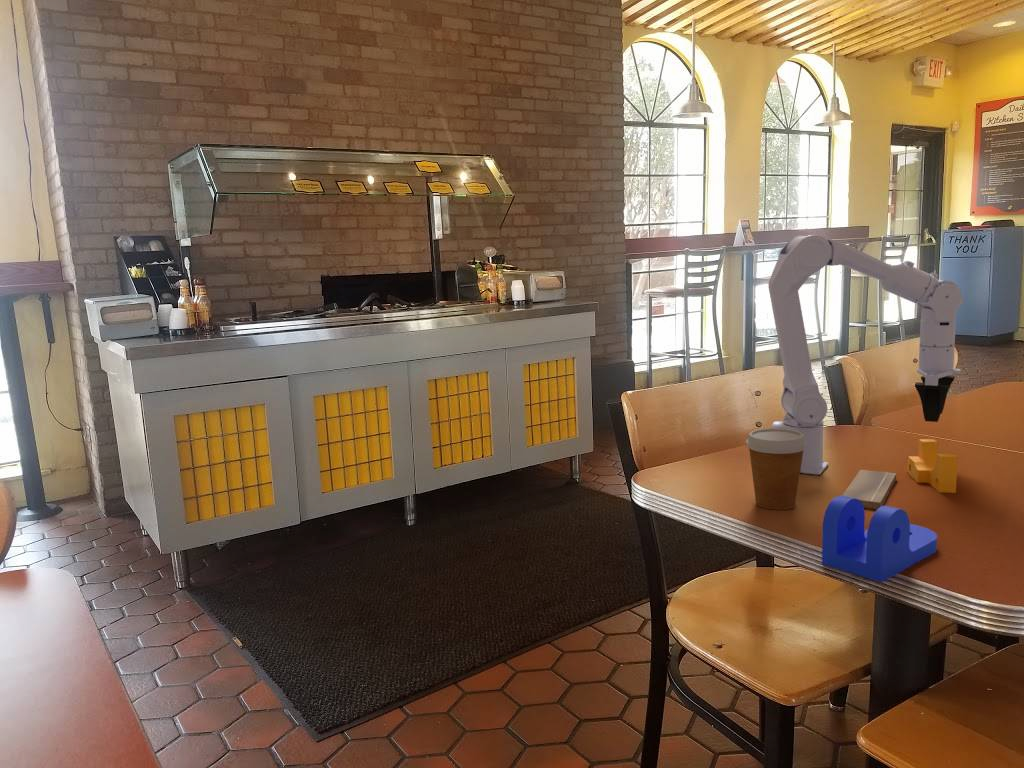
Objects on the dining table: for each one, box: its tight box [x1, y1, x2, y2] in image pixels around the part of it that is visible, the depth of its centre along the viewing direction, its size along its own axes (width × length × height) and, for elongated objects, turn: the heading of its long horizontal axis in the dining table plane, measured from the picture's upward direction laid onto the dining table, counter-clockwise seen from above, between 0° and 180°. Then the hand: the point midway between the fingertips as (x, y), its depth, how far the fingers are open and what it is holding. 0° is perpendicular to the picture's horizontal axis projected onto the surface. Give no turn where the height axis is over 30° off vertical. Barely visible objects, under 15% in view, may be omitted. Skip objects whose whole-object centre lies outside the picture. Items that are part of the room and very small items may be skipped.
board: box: [841, 469, 897, 510], centre depth 136 cm, size 6×18×1 cm, turn 147°
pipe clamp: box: [906, 438, 959, 494], centre depth 139 cm, size 12×4×6 cm, turn 169°
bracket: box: [821, 494, 938, 583], centre depth 109 cm, size 18×8×9 cm, turn 127°
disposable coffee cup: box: [745, 428, 807, 511], centre depth 131 cm, size 10×10×12 cm
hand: (933, 417), depth 147 cm, fingers open, 7 cm apart
